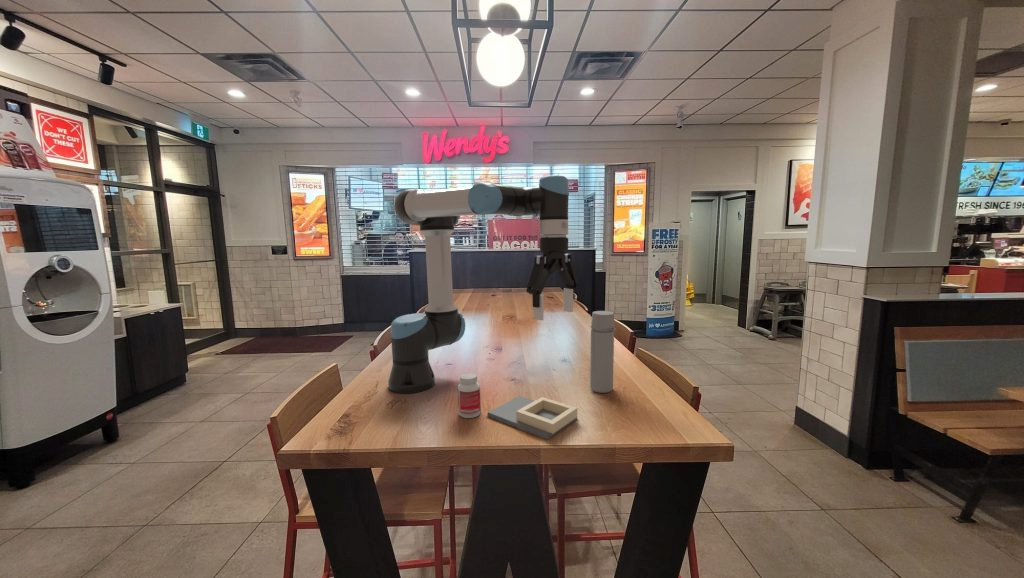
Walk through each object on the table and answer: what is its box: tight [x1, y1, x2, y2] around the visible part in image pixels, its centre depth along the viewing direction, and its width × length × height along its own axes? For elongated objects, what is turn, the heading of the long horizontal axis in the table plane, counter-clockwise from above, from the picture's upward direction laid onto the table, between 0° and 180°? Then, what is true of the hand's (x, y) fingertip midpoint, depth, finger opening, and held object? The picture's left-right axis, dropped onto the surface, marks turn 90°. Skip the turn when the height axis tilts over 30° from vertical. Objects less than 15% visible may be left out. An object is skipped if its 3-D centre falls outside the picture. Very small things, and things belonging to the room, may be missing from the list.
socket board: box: [487, 395, 578, 440], centre depth 105 cm, size 21×14×4 cm
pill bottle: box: [457, 372, 482, 419], centre depth 107 cm, size 6×6×11 cm
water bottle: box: [589, 310, 617, 394], centre depth 123 cm, size 9×8×25 cm
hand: (554, 315), depth 105 cm, fingers open, 13 cm apart
